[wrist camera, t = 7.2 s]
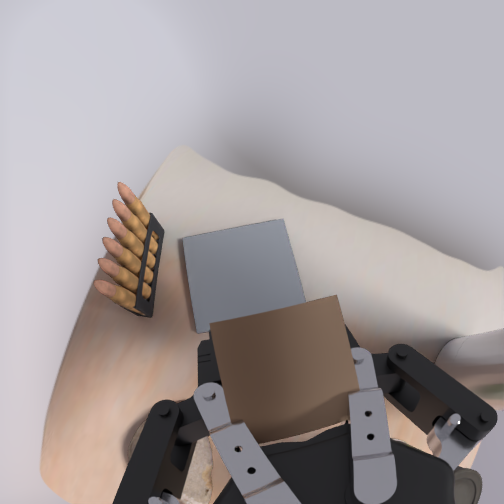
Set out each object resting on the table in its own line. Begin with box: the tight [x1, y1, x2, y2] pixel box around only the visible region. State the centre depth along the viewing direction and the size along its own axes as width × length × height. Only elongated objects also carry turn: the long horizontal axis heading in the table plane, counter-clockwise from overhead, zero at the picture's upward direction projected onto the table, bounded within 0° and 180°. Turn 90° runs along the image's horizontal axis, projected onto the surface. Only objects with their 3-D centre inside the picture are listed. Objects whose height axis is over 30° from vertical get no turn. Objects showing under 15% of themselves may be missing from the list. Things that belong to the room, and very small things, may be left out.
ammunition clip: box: [94, 182, 164, 317], centre depth 26 cm, size 11×2×12 cm, turn 177°
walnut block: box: [209, 295, 360, 444], centre depth 13 cm, size 4×4×10 cm
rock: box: [128, 421, 213, 504], centre depth 23 cm, size 15×4×10 cm
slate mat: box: [182, 219, 306, 334], centre depth 31 cm, size 12×11×1 cm
